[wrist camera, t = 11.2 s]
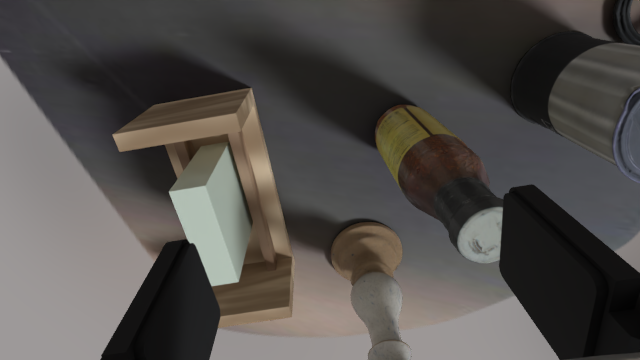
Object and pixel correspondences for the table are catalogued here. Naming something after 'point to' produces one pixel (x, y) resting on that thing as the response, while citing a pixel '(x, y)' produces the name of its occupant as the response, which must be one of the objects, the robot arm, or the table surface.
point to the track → (258, 184)
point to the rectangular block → (214, 211)
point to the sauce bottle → (442, 179)
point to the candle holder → (373, 284)
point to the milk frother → (587, 91)
